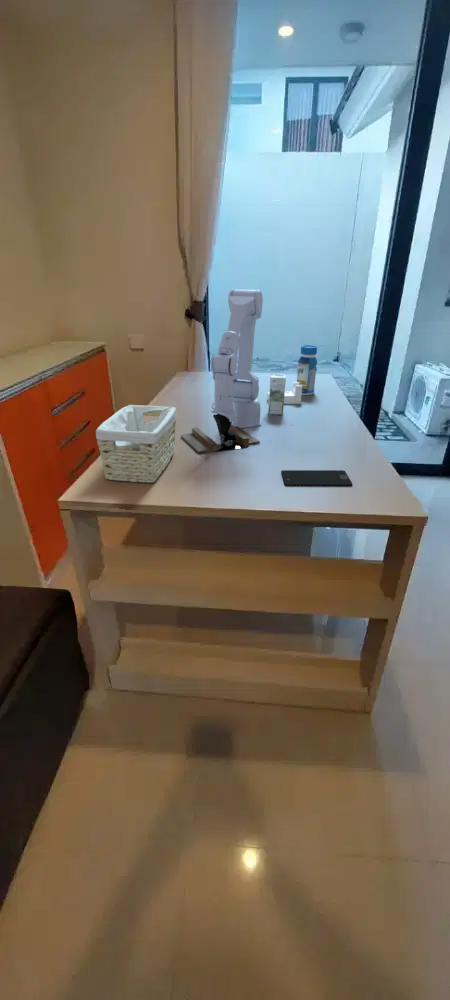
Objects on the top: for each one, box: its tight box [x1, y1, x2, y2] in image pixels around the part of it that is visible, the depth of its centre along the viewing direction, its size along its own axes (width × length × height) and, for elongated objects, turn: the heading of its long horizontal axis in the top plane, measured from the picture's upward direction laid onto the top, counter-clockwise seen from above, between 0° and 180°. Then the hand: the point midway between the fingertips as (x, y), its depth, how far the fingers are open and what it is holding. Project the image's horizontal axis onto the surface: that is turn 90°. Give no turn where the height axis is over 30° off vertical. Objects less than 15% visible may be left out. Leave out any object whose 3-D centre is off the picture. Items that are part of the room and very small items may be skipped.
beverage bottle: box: [296, 344, 318, 396], centre depth 191 cm, size 8×8×20 cm
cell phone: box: [280, 469, 353, 487], centre depth 119 cm, size 9×18×1 cm, turn 91°
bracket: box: [266, 381, 302, 405], centre depth 183 cm, size 13×7×8 cm, turn 92°
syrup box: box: [267, 373, 287, 416], centre depth 167 cm, size 6×6×14 cm
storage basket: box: [95, 404, 177, 484], centre depth 122 cm, size 24×16×15 cm
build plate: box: [214, 432, 247, 453], centre depth 139 cm, size 12×7×5 cm, turn 111°
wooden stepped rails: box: [180, 425, 261, 455], centre depth 143 cm, size 21×16×2 cm
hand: (223, 436), depth 141 cm, fingers closed
